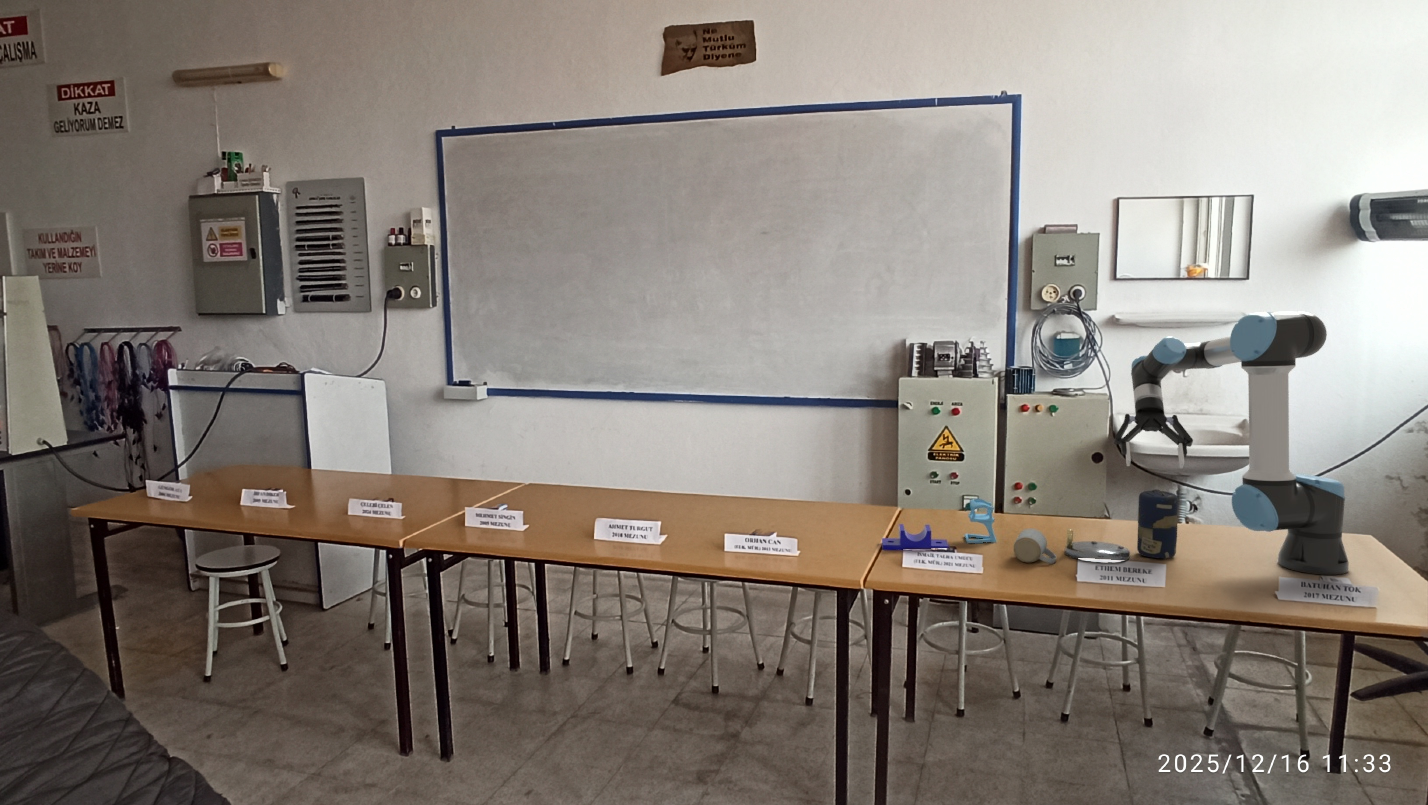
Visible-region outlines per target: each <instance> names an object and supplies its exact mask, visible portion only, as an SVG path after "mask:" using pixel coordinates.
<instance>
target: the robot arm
mask: <svg viewBox="0 0 1428 805" xmlns="http://www.w3.org/2000/svg"><path fill="white" fill-rule="evenodd" d="M1327 333H1328V332H1327V327H1326V326H1325V323H1324V322H1323V321H1322V320H1321V319H1320V318H1319V317H1318V316H1317V315H1316V314H1313V313H1311V312H1306V311H1302V310H1300V311H1299V310H1297V311H1262V312H1261V311H1260V312H1253V313H1252V312H1251V313H1248V314H1246V315H1244V316H1242V317H1241V318H1239V319H1238V321H1237V322H1236V323H1235V324H1234V326H1233V328H1232V330H1231V333H1230V336H1225V337H1220V338H1217V339H1213V340H1211V339H1210V340H1206V341H1202V342H1188V343H1187V342H1186V343H1185V342H1183V341H1182V340H1181V339H1179V338H1178V337H1177V338H1176V337H1174V336H1166V337H1163V338H1162V339H1161V340H1160V341H1159V342H1158V343H1156V344H1155V346H1154V347H1153V348H1152V349H1151V351H1150V352H1149V353H1148V354H1147V355H1140V356H1139V357H1138V358H1135V359H1134V360H1133V361H1132V363H1131V370H1130V371H1131V373H1130V376H1131V381H1132V382H1131V383H1132V390H1133V400H1134V401H1133V402H1134V412H1135V416H1133V415H1132V416H1131V415H1130V414H1129V413H1126V414H1124V419H1123V422H1122V424H1121V426H1120V428H1119V429H1118V431H1117V432H1116V434H1115V436H1114V439H1113V445H1119V447H1120V450H1121V451H1120V452H1121V455H1122V456H1125V461H1126V462H1125V463H1126V467H1130V466H1131V463H1132V462H1131V461H1132V460H1131V458H1132V456H1131V446H1130V441H1132V440H1133V439H1134V438H1135V437H1136V436H1137V435H1138V434H1140V433H1141V432H1143V431H1145V432H1155V433H1157V432H1159V433H1160V434H1162V435H1165V436H1166V437H1167V438H1168V439H1170V440H1171V441H1172V442H1173V443H1175V444H1176V445H1177V446H1178V447H1177V455H1178V464H1179V469H1184V465H1185V463H1186V462H1185V458H1186V457H1187V454H1188V448H1189V447H1192V445H1193V443H1194V439H1193V438H1192V437H1191V435H1190V434H1189V433H1188V431H1187V430H1186V428H1184V427H1183V425H1182V424H1181V422H1180V421H1179V419H1178V416H1177V414H1173V415H1172V416H1166V414H1165V408H1164V402H1163V399H1164V398H1163V392H1162V380H1163V379H1164V378H1165V377H1166V376H1167V375H1168V374H1169V373H1170V372H1171V371H1174V370H1175V371H1176V370H1179V371H1180V370H1191V369H1192V370H1194V369H1196V370H1197V369H1198V370H1199V369H1202V370H1203V369H1207V370H1208V369H1215V368H1220V367H1223V366H1225V365H1231V364H1236V363H1240V364H1241V366H1240V367H1241V369H1243V370H1244V372H1246V373H1247V375H1248V376H1247V377H1248V380H1247V381H1248V449H1249V450H1248V454H1249V455H1248V460H1249V461H1248V464H1249V465H1248V467H1249V468H1248V470H1247V471H1246V472H1245V473H1244V474H1242V479H1241V480H1242V481H1241V482H1242V484H1241V485H1238V486H1237V487H1236V488H1235V490H1234V491H1233V492H1232V495H1231V506H1232V511H1233V513H1234V515H1235V517H1236V519H1237V520H1238V521H1239V522H1240V524H1241V525H1243V526H1244V528H1247V529H1248V530H1251V531H1254V532H1266V533H1267V532H1269V533H1270V532H1273V531H1281V530H1282V531H1283V530H1287V532H1286V534H1287V535H1286V537H1285V538H1284V541H1283V543H1282V546H1281V548H1280V550H1279V551H1278V557H1277V563H1278V564H1279V566H1281V567H1283V568H1285V569H1289V570H1292V571H1295V572H1299V573H1300V572H1301V573H1305V574H1314V575H1325V576H1326V575H1328V576H1331V575H1332V576H1333V575H1342V574H1343V575H1344V574H1346V573H1348V572H1349V567H1350V566H1349V563H1350V562H1349V559H1348V557H1347V552H1346V549H1345V546H1344V543H1343V526H1344V514H1345V499H1346V497H1345V486H1344V484H1343V482H1341V481H1339V480H1337V479H1335V478H1334V479H1333V478H1329V477H1325V476H1317V475H1310V474H1305V473H1303V474H1302V473H1301V474H1300V473H1293V472H1291V471H1290V436H1289V435H1290V424H1289V423H1290V422H1289V420H1290V415H1289V412H1290V410H1289V409H1290V408H1289V406H1290V405H1289V404H1290V402H1289V375H1290V372H1291V371H1292V370H1294V369H1295V368H1296V367H1297V366H1296V359H1301V358H1306V357H1310V356H1312V355H1315V354H1316V353H1317V352H1319V351H1320V350H1321V349H1322V348H1323V346H1324V345H1325V343H1326V340H1327ZM1133 422H1134V423H1135V424H1136V425H1135V426H1134V427H1133V428H1132V429H1131V430H1130V431H1129V432H1127V433H1126V430H1127V429H1128V427H1129V425H1131V424H1132V423H1133ZM1168 424H1169V425H1170V426H1171V427H1172V428H1173V429H1172V428H1171V427H1169V425H1168ZM1125 433H1126V434H1125ZM1124 434H1125V435H1124ZM1187 447H1188V448H1187Z"/></svg>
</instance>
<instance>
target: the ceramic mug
mask: <svg viewBox="0 0 1428 805" xmlns="http://www.w3.org/2000/svg"><path fill="white" fill-rule="evenodd" d="M1047 542H1048V541H1047V539H1046V536H1045V534H1043V532H1041V531H1039V529H1035V528H1025V529H1023V530H1022V531H1021V532H1020V533H1019V534H1018V536H1017V538H1016V539H1015V542H1014V544H1013V553H1014V555H1015V557H1016V558H1017V559H1018V560H1019V561H1020V562H1023V563H1027V564H1028V563H1029V564H1031V563H1034V562H1036V561H1038V560H1040V561H1042V562H1044V563H1046V564H1055V563H1056V561H1057V560H1058V557H1057V554H1055V553H1054V552H1053V551H1052V550H1051V549H1049V548H1047V547H1048V543H1047ZM1044 554H1045V555H1044ZM1046 555H1047V556H1046Z"/></svg>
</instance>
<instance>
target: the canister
mask: <svg viewBox="0 0 1428 805" xmlns="http://www.w3.org/2000/svg"><path fill="white" fill-rule="evenodd" d="M1178 506H1179V496H1177V494H1175V493H1173V492H1170V491H1164V490H1160V489H1152V490H1145V491H1141V492H1140V493H1139V494H1138V511H1137V512H1138V513H1137V518H1138V519H1137V544H1136V545H1137V547H1136V548H1137V549H1136V550H1137V552H1138V553H1139V554H1140V555H1141V556H1144V557H1147V558H1150V559H1169V558H1172V557H1175V556H1176V553H1177V542H1178V522H1179V521H1178V518H1179V516H1178V512H1179V511H1178V510H1179V507H1178Z"/></svg>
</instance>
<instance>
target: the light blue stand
mask: <svg viewBox="0 0 1428 805" xmlns="http://www.w3.org/2000/svg"><path fill="white" fill-rule="evenodd" d="M992 504H993V503H992V502H989V501H986V500H984V499H981V498H975V499H974V498H973V499H970V500H969V506H970V512H968V518H969V521H970V522H971V523H980V524H982V525H984V526H985V527H986V529H987V532H988V534H989V535H984V534H983V535H982V534H975V533H964V538H966V539H965V541H966V544H968V543H975V544H984V543H983V542H986V543H985V544H987V542H991V543H997V538H996V535H995V531H994V528H993V523H995V518H994V517H993V512H994V509H995V507H994V506H992ZM981 508H984V509H986V510H987V511H986V513H976V511H975V510H977V509H981ZM971 537H976V538H975V539H969V538H971ZM979 538H983V539H979Z"/></svg>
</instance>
